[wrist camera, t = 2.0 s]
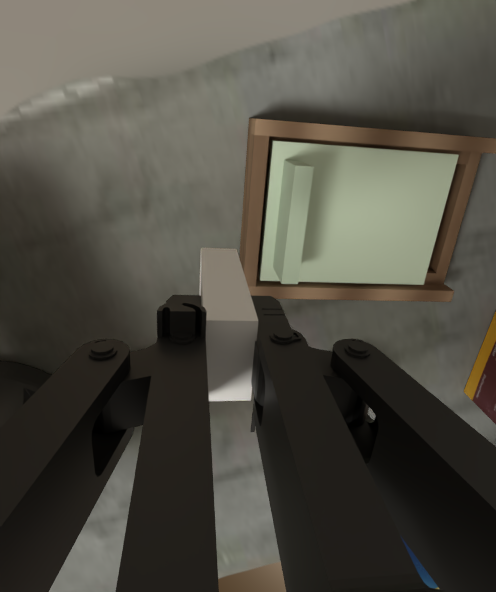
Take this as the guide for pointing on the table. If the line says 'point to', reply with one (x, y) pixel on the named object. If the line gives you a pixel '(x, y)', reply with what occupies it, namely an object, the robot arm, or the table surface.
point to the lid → (351, 213)
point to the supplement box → (485, 375)
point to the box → (359, 137)
